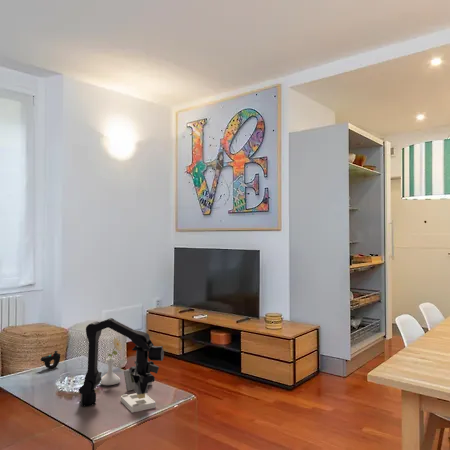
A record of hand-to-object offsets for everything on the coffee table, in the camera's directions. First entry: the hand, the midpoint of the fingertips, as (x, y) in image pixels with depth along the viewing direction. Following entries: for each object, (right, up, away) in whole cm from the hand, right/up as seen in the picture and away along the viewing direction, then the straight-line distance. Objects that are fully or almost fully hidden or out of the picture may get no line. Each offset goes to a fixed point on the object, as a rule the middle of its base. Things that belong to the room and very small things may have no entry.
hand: (141, 392), depth 203 cm
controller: (-68, -8, +56) cm, 88 cm away
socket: (-2, -7, +3) cm, 8 cm away
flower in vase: (-23, -8, +32) cm, 41 cm away
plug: (0, -3, 0) cm, 2 cm away
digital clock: (-7, -8, +27) cm, 29 cm away
